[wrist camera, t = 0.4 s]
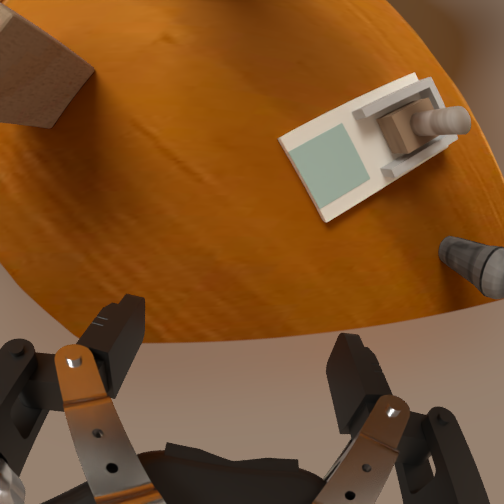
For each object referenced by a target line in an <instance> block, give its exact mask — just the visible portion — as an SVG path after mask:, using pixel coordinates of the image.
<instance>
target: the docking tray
mask: <svg viewBox="0 0 504 504" xmlns="http://www.w3.org/2000/svg"><path fill="white" fill-rule="evenodd" d="M428 97H429V99H430V101H431V103H432V106H433V108H434V110H435V109H442V108H445V105H444V103H443V101H442V99H441V96H440V94H439V92H438V90H437V88H436V86H435V84H434V82H433V80H432V78H431V77H428V78H425V79H422V80H418V78H417V76H416V74H415V73H412V74H409V75H407V76H404V77H402V78H400V79H397V80H395V81H393V82H390V83H388V84H386V85H384V86H381V87H379V88H377V89H375V90H373V91H370V92H368V93H366V94H364V95H362V96H360V97H358V98H355V99H353V100H351V101H349V102H347V103H345V104H343V105H341V106H339V107H337V108H335V109H333V110H331V111H329V112H327V113H325V114H323V115H321V116H319V117H317V118H315V119H313V120H311V121H309V122H307V123H305V124H304V125H302V126H300V127H298V128H296V129H294V130H292V131H290V132H289V133H287V134H285V135H283V136H281V137H279V138H278V141H279V143H280V144H281V146H282V148H283V149H284V151H285V153H286V155H287V156H288V158H289V160H290V162H291V163H292V165H293V167H294V169H295V170H296V172H297V174H298V176H299V177H300V179H301V181H302V183H303V185H304V186H305V188H306V190H307V192H308V194H309V196H310V197H311V199H312V201H313V203H314V205H315V207H316V209H317V211H318V212H319V214H320V216H321V218H322V220H323V221H324V222H326V223H327V222H329V221H330V220H332V219H333V218H335V217H337V216H338V215H340V214H342V213H343V212H345V211H346V210H348V209H350V208H351V207H353V206H355V205H356V204H358V203H359V202H361V201H363V200H364V199H366V198H368V197H369V196H371V195H372V194H374V193H376V192H377V191H379V190H380V189H382V188H384V187H385V186H387V185H389V184H390V183H392V182H393V181H395V180H397V179H398V178H400V177H401V176H403V175H405V174H406V173H408V172H409V171H411V170H413V169H414V168H416V167H417V166H419V165H420V164H422V163H424V162H425V161H427V160H428V159H430V158H432V157H433V156H435V155H436V154H438V153H439V152H441V151H443V150H444V149H446V148H447V147H448V145H449V144H450V143H452V142H454V141H455V140H457V139H458V137H457V134H456V135H439V136H438V137H436V138H434V139H433V140H431V141H429V142H428V143H426V144H424V145H423V146H421V147H419V148H417V149H416V150H414V151H412V152H411V153H409V154H392V152H391V150H390V148H389V145H388V143H387V141H386V139H385V137H384V135H383V133H382V131H381V129H380V127H379V125H378V123H377V121H376V119H377V118H379V117H381V116H383V115H385V114H387V113H389V112H391V111H393V110H395V109H397V108H399V107H401V106H403V105H405V104H407V103H409V102H411V101H415V100H419V99H424V98H428Z"/></svg>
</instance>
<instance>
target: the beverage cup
mask: <svg viewBox="0 0 504 504" xmlns="http://www.w3.org/2000/svg"><path fill="white" fill-rule="evenodd" d="M439 258H440V260H441V261H442V262H444V263H445V264H446V265H447V266H448V267H450V268H451V269H453V270H454V271H456V272H457V273H458V274H460V275H461V276H462V277H464V278H465V279H467V280H468V281H469V282H471V283H472V284H473V285H475V286H476V288H477V289H478V290H479V291H480V292H481V293H482V294H483V295H484V296H486V297H490V298H494V299H501V298H504V247H498V246H488V245H485V244H481V243H477V242H474V241H470V240H466V239H462V238H458V237H452V236H448V237H446V238H445V239H444V240H443V241H442V242H441V244H440V247H439Z"/></svg>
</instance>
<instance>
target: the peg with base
mask: <svg viewBox="0 0 504 504" xmlns="http://www.w3.org/2000/svg"><path fill="white" fill-rule="evenodd" d="M376 121H377V123H378V125H379V127H380V129H381V131H382V133H383V135H384V137H385V139H386V141H387V143H388V145H389V148H390V150H391V152H392V154H409V153H411V152H412V151H414V150H416V149H417V148H419V147H421V146H423V145H424V144H426V143H428V142H429V141H431V140H433V139H434V138H436V137H438V136H439V135H456V134H467V133H468V132H469V131H470V128H471V119H470V116H469V114H468V112H467V111H466V109H465V108H463V107H461V106H455V107H448V108H442V109H435V110H434V108H433V106H432V103H431V101H430V99H429V97H428V98H424V99H419V100H415V101H411V102H409V103H407V104H405V105H403V106H401V107H399V108H397V109H395V110H393V111H391V112H389V113H387V114H385V115H383V116H381V117H379V118H377V119H376Z"/></svg>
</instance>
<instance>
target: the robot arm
mask: <svg viewBox="0 0 504 504" xmlns="http://www.w3.org/2000/svg"><path fill="white" fill-rule="evenodd" d="M144 332H145V299H144V298H143V297H139V296H134V295H130V294H126V295H125V296H124V297H123V299H122V300H121V301H120V303H119V304H116V303H111V304H109V305H107V306H106V307H104V308H103V309H102V310H101V311H100V312H99V314H98V315H97V317H96V318H95V319H94V320H93V322H92V323H91V324H90V326H89V327H88V328H87V330H86V331H85V332H84V334H83V335H82V336H81V338H80V339H79V340H78V342H77V343H76V344H72V345H67V346H64V347H62V348H60V349H59V350H58V351H57V353H56V354H46V353H36V352H35V349H34V346H33V344H32V343H31V342H29V341H27V340H25V339H13V340H11V341H8V342H7V343H5V344H4V345H3V346H2V348H1V349H0V504H24V500H25V487H24V485H23V483H22V481H21V479H20V478H19V476H20V473H21V471H22V469H23V466H24V464H25V462H26V459H27V457H28V455H29V452H30V450H31V448H32V446H33V443H34V441H35V439H36V437H37V435H38V433H39V431H40V429H41V427H42V425H43V422H44V420H45V418H46V416H47V414H48V412H49V410H54V411H63V412H65V415H66V419H67V422H68V426H69V430H70V433H71V436H72V439H73V442H74V446H75V449H76V452H77V455H78V458H79V461H80V463H81V466H82V469H83V471H84V474H85V476H86V479H87V481H86V482H84V483H83V484H80V485H79V486H77V487H75V488H73V489H71V490H69V491H67V492H65V493H62V494H60V495H58V496H56V497H54V498H52V499H50V500H48V501H46V502H43V503H41V504H375V502H376V500H377V498H378V496H379V494H380V493H381V491H382V489H383V487H384V485H385V483H386V481H387V479H388V477H389V474H390V472H391V470H392V468H393V466H394V464H395V468H396V472H397V476H398V481H399V485H400V489H401V494H402V499H403V504H490V502H489V499H488V496H487V493H486V491H485V488H484V485H483V482H482V480H481V477H480V474H479V472H478V469H477V467H476V464H475V461H474V459H473V457H472V454H471V452H470V450H469V447H468V445H467V443H466V440H465V438H464V435H463V433H462V431H461V429H460V426H459V424H458V422H457V420H456V418H455V416H454V415H453V414H452V413H451V412H450V411H449V410H447V409H446V408H443V407H434V408H432V409H431V410H430V411H429V412H428V414H427V415H424V414H419V413H415V412H411V411H410V408H409V406H408V404H407V403H406V402H405V401H404V400H402V399H401V398H399V397H397V396H394V395H392V392H391V390H390V388H389V385H388V383H387V381H386V378H385V376H384V374H383V373H382V369H381V367H380V366H379V362H378V360H377V358H376V356H375V354H374V353H373V352H372V351H371V350H370V349H369V348H368V347H364V345H363V343H362V341H361V339H360V336H359V335H356V334H347V333H341V334H339V336H338V338H337V341H336V343H335V345H334V348H333V350H332V352H331V355H330V357H329V359H328V362H327V367H326V374H327V379H328V383H329V387H330V391H331V396H332V400H333V404H334V409H335V414H336V418H337V422H338V427H339V431H340V434H351V440H350V441H349V442H348V444H347V445H346V447H345V448H344V450H343V451H342V453H341V454H340V456H339V457H338V458H337V460H336V461H335V463H334V464H333V466H332V467H331V468H330V470H329V471H328V473H327V474H326V475H325V476H324V478H323V479H322V478H320V477H319V476H317V475H315V474H313V473H311V472H309V471H306V470H303V469H300V468H299V467H298V460H297V459H296V460H295V459H277V458H261V459H252V460H243V461H230V460H227V459H224V458H222V457H219V456H216V455H214V454H211V453H208V452H206V451H203V450H201V449H197V448H192V447H186V446H182V445H177V444H172V443H168V442H167V444H166V448H165V450H163V451H161V450H159V451H150V452H143V453H140V454H137V455H136V453H135V451H134V449H133V447H132V445H131V443H130V440H129V438H128V436H127V434H126V432H125V430H124V428H123V425H122V423H121V421H120V419H119V417H118V414H117V412H116V410H115V407H114V405H113V402H112V400H111V398H113V399H115V398H116V396H117V394H118V391H119V389H120V387H121V385H122V383H123V381H124V378H125V376H126V374H127V372H128V370H129V368H130V366H131V364H132V362H133V360H134V358H135V355H136V353H137V351H138V349H139V347H140V345H141V343H142V341H143V337H144ZM431 455H432V458H433V461H434V464H435V468H436V473H435V476H433V472H432V469H431V466H430V463H429V460H428V458H429V457H430V456H431Z"/></svg>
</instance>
